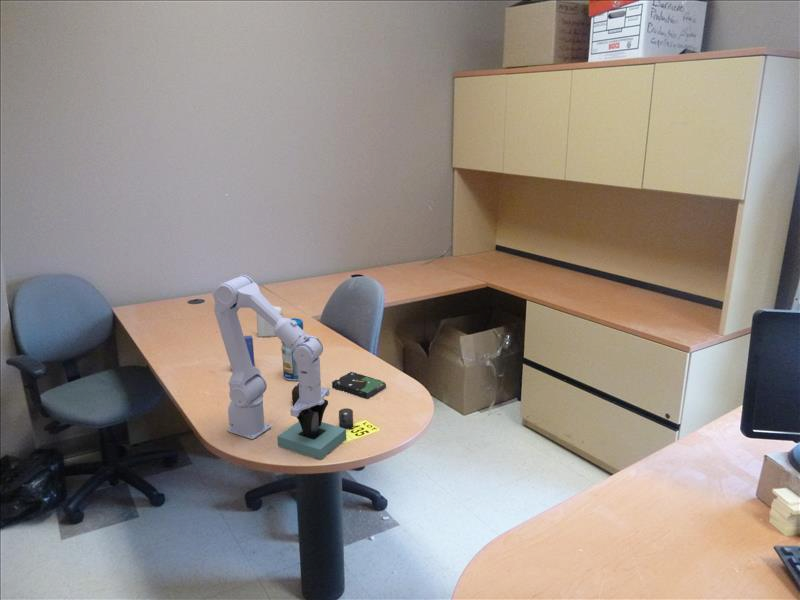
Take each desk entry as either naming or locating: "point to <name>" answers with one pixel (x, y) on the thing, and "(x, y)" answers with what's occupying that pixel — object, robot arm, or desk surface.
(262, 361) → the desk surface
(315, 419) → the tall pin
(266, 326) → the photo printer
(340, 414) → the short pin
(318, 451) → the hole block
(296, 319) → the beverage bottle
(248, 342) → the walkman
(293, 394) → the hand tool
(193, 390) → the desk surface
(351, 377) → the disk drive
